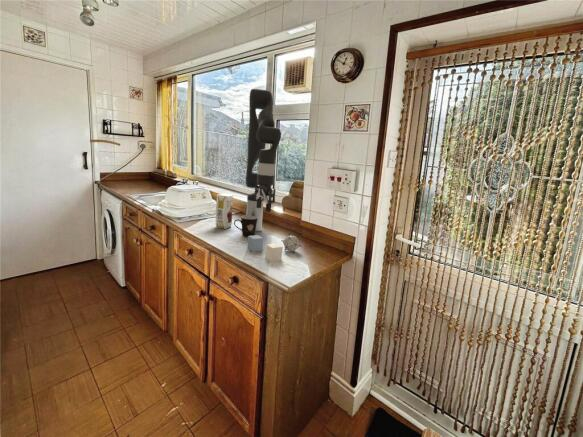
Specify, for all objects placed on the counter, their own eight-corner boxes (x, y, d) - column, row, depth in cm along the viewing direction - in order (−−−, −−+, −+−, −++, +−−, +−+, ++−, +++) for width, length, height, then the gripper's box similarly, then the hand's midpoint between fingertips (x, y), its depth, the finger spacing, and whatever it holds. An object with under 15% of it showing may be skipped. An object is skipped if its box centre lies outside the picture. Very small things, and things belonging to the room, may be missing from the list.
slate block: (247, 248, 139) (248, 236, 138) (256, 247, 142) (257, 235, 141) (252, 251, 135) (253, 239, 134) (262, 250, 138) (263, 237, 137)
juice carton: (213, 227, 169) (215, 194, 165) (221, 224, 177) (222, 192, 173) (225, 229, 167) (227, 196, 163) (233, 226, 175) (234, 194, 171)
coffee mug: (257, 234, 163) (259, 216, 161) (254, 238, 155) (255, 219, 153) (237, 231, 164) (238, 214, 162) (232, 236, 156) (233, 217, 154)
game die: (293, 258, 142) (308, 243, 140) (285, 256, 134) (300, 241, 133) (282, 245, 146) (296, 230, 144) (274, 242, 138) (288, 227, 137)
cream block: (265, 257, 129) (266, 244, 128) (274, 256, 132) (276, 243, 131) (271, 261, 125) (272, 248, 124) (281, 260, 128) (282, 246, 127)
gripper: (250, 171, 135) (248, 207, 138) (266, 175, 124) (263, 213, 127) (265, 172, 139) (262, 206, 143) (281, 175, 128) (278, 212, 131)
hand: (263, 209), depth 135 cm, fingers open, 8 cm apart
